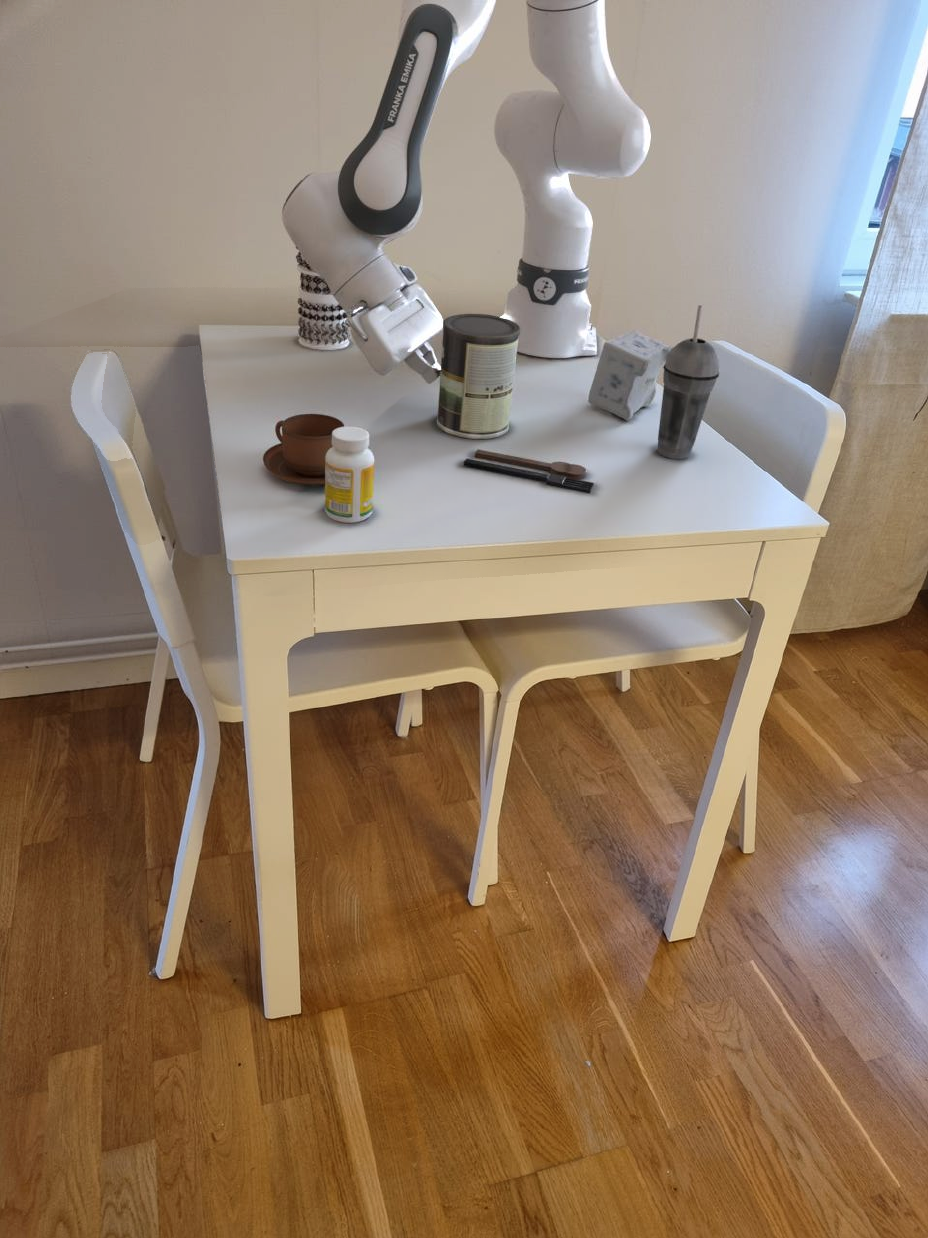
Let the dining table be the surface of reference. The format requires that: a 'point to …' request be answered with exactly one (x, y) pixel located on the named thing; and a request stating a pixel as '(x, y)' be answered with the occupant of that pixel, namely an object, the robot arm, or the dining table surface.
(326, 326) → the decorative candle
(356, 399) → the dining table surface
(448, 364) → the coffee can
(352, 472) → the supplement bottle
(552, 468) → the spoon
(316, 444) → the cup and saucer
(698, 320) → the beverage cup
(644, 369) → the incense holder
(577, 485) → the fork
